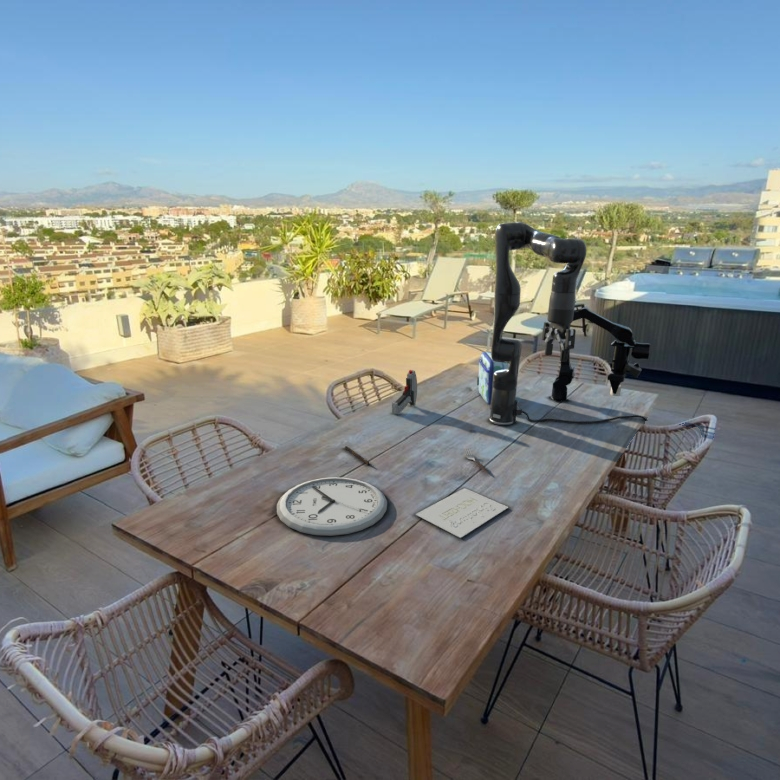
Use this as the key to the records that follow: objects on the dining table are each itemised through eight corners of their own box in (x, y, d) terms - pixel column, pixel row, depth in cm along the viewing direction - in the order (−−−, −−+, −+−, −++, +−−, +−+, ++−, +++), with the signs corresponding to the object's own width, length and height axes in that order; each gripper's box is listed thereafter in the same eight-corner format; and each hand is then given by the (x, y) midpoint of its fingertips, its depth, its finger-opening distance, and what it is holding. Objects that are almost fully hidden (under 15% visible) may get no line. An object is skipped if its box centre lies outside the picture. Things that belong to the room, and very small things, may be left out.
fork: (483, 474, 162) (483, 469, 161) (463, 454, 176) (463, 448, 176) (491, 474, 162) (491, 468, 162) (470, 453, 177) (470, 447, 176)
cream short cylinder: (617, 393, 227) (619, 384, 226) (621, 396, 223) (623, 387, 222) (608, 393, 227) (609, 384, 226) (612, 395, 223) (613, 386, 222)
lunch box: (475, 390, 246) (478, 346, 240) (498, 390, 246) (501, 347, 240) (484, 408, 221) (487, 360, 215) (509, 409, 221) (513, 360, 215)
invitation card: (464, 487, 153) (508, 506, 143) (464, 488, 153) (508, 507, 143) (415, 513, 138) (460, 537, 128) (415, 514, 138) (460, 538, 128)
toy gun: (391, 378, 208) (412, 368, 219) (392, 415, 214) (412, 403, 225) (395, 379, 207) (417, 369, 218) (396, 416, 212) (417, 405, 223)
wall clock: (392, 527, 129) (268, 531, 127) (391, 533, 130) (269, 537, 127) (383, 473, 158) (282, 475, 155) (383, 478, 158) (282, 480, 156)
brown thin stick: (344, 448, 179) (344, 445, 179) (346, 448, 179) (346, 445, 179) (367, 464, 167) (367, 462, 167) (368, 464, 167) (368, 461, 167)
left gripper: (586, 309, 154) (579, 363, 159) (559, 303, 167) (553, 352, 172) (564, 310, 152) (557, 364, 157) (538, 303, 165) (533, 353, 170)
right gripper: (639, 364, 208) (633, 401, 213) (644, 355, 224) (637, 390, 229) (610, 360, 214) (604, 396, 218) (616, 351, 229) (610, 385, 234)
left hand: (555, 358), depth 165 cm, fingers open, 8 cm apart
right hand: (615, 392), depth 225 cm, fingers closed on cream short cylinder, 4 cm apart
